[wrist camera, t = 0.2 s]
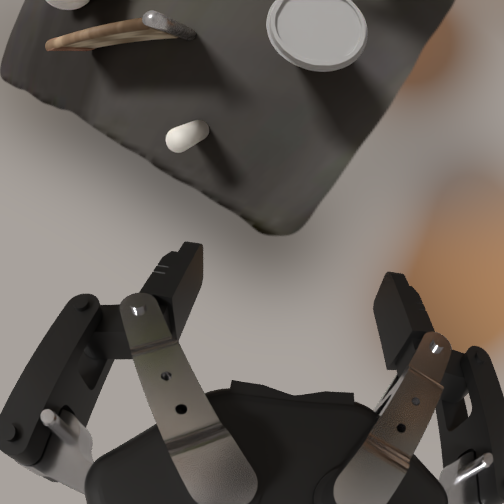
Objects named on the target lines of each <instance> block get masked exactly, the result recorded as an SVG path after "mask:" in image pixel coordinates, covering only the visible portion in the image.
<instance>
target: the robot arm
mask: <svg viewBox="0 0 504 504" xmlns="http://www.w3.org/2000/svg"><path fill="white" fill-rule="evenodd" d="M202 280H203V245H202V244H199V243H192V242H184V243H183V245H182V247H181V248H180V250H179V251H178V252H174V251H171V252H170V253H168V254H167V255H165V256H164V257H163V258H162V259H161V260H160V262H159V263H158V266H156V268H155V269H154V272H152V274H151V275H150V277H149V278H148V280H147V281H146V283H145V284H144V286H143V288H142V289H141V291H140V292H139V293H135V294H131V295H129V296H127V297H126V298H125V299H123V301H122V302H121V304H120V305H100V303H99V300H98V299H97V297H96V296H94V295H92V294H80V295H77V296H75V297H73V298H72V299H71V300H70V301H69V302H68V303H67V304H66V306H65V307H64V309H63V310H62V311H61V313H60V314H59V316H58V317H57V319H56V320H55V322H54V323H53V325H52V326H51V327H50V329H49V331H48V332H47V334H46V335H45V337H44V338H43V340H42V341H41V343H40V344H39V346H38V348H37V349H36V351H35V352H34V354H33V356H32V357H31V359H30V361H29V362H28V364H27V366H26V367H25V369H24V371H23V373H22V374H21V376H20V378H19V380H18V381H17V383H16V385H15V387H14V389H13V391H12V392H11V394H10V396H9V398H8V400H7V402H6V404H5V406H4V408H3V410H2V412H1V414H0V450H1V451H2V452H4V453H5V454H7V455H8V456H10V457H11V458H13V459H14V460H15V461H16V462H17V463H19V464H20V465H22V466H23V467H25V468H27V469H29V470H30V471H32V472H34V473H35V474H37V475H39V476H42V477H44V478H46V479H48V480H50V481H52V482H60V483H62V484H64V485H66V486H68V487H70V488H72V489H74V490H76V491H79V492H81V493H83V494H85V497H86V501H87V504H502V503H504V397H503V393H502V390H501V387H500V384H499V381H498V378H497V375H496V372H495V370H494V367H493V364H492V362H491V359H490V357H489V355H488V354H487V352H486V351H485V350H483V349H482V348H480V347H477V346H472V347H470V348H469V349H468V350H467V352H466V353H465V354H464V353H461V352H458V351H455V350H452V348H451V345H450V343H449V341H448V340H447V339H446V338H445V337H444V336H443V335H441V334H440V333H437V332H435V331H434V328H433V326H432V323H431V321H430V318H429V316H428V314H427V312H426V311H425V307H424V305H423V304H422V300H421V298H420V296H419V294H418V293H417V292H416V290H415V289H414V288H413V287H412V286H409V284H408V282H407V280H406V278H405V276H404V274H401V273H394V272H387V273H386V274H385V276H384V279H383V281H382V284H381V286H380V288H379V291H378V293H377V295H376V298H375V300H374V306H373V310H374V315H375V319H376V323H377V327H378V331H379V336H380V340H381V344H382V349H383V353H384V358H385V362H386V367H387V370H397V373H398V374H397V375H396V376H395V378H394V379H393V381H392V382H391V384H390V386H389V387H388V389H387V390H386V392H385V394H384V395H383V397H382V398H381V400H380V401H379V403H378V404H377V406H376V407H375V408H374V410H371V409H370V408H368V407H366V406H364V405H362V404H360V403H357V402H354V393H345V392H326V391H325V392H318V393H312V394H305V395H296V396H294V395H290V394H287V393H284V392H281V391H278V390H276V389H273V388H269V387H267V386H264V385H260V384H252V383H246V382H240V381H234V380H232V382H231V387H230V388H228V389H219V390H214V391H210V392H207V393H204V392H203V390H202V388H201V386H200V384H199V382H198V380H197V378H196V376H195V374H194V372H193V371H192V369H191V367H190V365H189V363H188V361H187V358H186V356H185V354H184V352H183V350H182V348H181V346H180V344H179V342H178V341H179V338H180V336H181V333H182V331H183V329H184V326H185V324H186V321H187V319H188V317H189V314H190V312H191V309H192V307H193V305H194V302H195V300H196V298H197V295H198V293H199V290H200V288H201V285H202ZM114 359H133V361H134V363H135V367H136V370H137V373H138V376H139V379H140V381H141V384H142V387H143V390H144V393H145V396H146V398H147V401H148V404H149V406H150V409H151V411H152V414H153V416H154V419H155V421H156V424H155V425H154V426H152V427H150V428H149V429H147V430H146V431H144V432H142V433H140V434H139V435H137V436H136V437H134V438H132V439H130V440H129V441H127V442H126V443H124V444H122V445H120V446H119V447H117V448H115V449H113V450H112V451H110V452H108V453H106V454H104V455H103V456H101V457H100V458H98V459H97V460H96V461H95V462H94V461H93V459H92V454H91V450H92V437H91V434H90V433H89V431H88V430H87V429H86V425H87V423H88V421H89V418H90V415H91V413H92V410H93V408H94V406H95V403H96V401H97V398H98V396H99V394H100V391H101V389H102V386H103V384H104V382H105V380H106V377H107V375H108V373H109V371H110V368H111V366H112V364H113V362H114ZM468 393H469V395H470V399H471V403H472V412H471V415H470V416H469V417H468V414H467V409H466V405H465V401H464V397H465V396H466V395H467V394H468ZM435 408H436V414H437V419H438V426H439V433H440V441H441V449H442V459H443V470H442V472H441V475H440V478H439V480H437V479H436V478H435V477H434V475H433V474H431V473H430V471H429V470H428V469H427V468H426V467H425V466H424V465H423V464H422V463H421V461H420V460H419V459H418V458H417V457H416V456H415V455H414V454H413V453H414V452H415V450H416V448H417V446H418V444H419V442H420V440H421V438H422V436H423V434H424V432H425V430H426V428H427V425H428V424H429V422H430V420H431V417H432V415H433V413H434V410H435Z"/></svg>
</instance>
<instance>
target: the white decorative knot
mask: <svg viewBox="0 0 504 504" xmlns="http://www.w3.org/2000/svg"><path fill="white" fill-rule="evenodd" d="M45 1H47V2H48V3H49V4H50V5H52V6H53V7H56V8H58V9H63V10H75V9H78V8H81V7H83V6H84V5H86V4H87V3H88V2H89V1H90V0H45Z"/></svg>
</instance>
